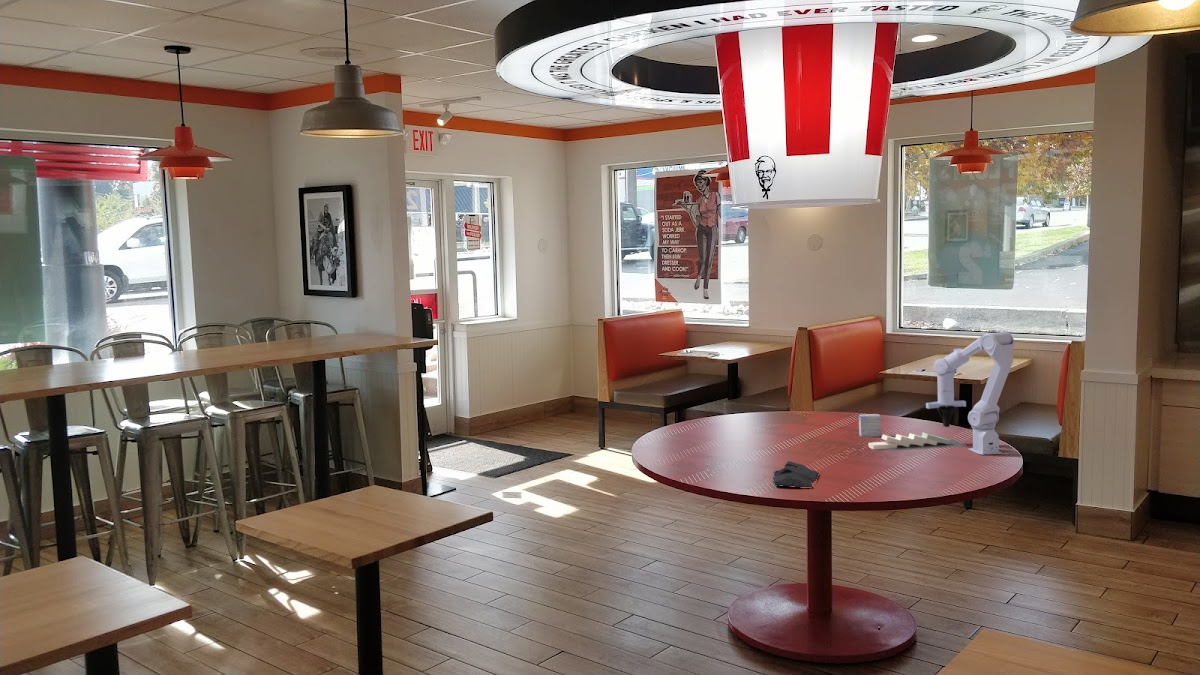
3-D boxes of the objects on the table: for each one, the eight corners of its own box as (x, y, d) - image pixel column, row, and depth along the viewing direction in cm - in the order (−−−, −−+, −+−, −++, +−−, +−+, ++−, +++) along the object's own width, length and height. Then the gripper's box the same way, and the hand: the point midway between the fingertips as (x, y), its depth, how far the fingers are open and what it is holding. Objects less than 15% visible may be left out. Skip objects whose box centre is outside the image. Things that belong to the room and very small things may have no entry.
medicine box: (879, 435, 372) (878, 413, 371) (881, 437, 368) (880, 415, 367) (859, 435, 373) (858, 414, 372) (861, 437, 368) (860, 416, 368)
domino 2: (904, 440, 350) (882, 434, 349) (910, 443, 345) (887, 436, 344) (903, 444, 350) (881, 438, 349) (908, 447, 345) (886, 440, 344)
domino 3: (918, 439, 350) (896, 433, 350) (924, 442, 345) (901, 436, 345) (917, 443, 350) (895, 437, 350) (922, 446, 346) (900, 440, 345)
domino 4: (931, 439, 351) (909, 432, 350) (937, 441, 346) (914, 435, 345) (930, 443, 351) (908, 436, 350) (936, 445, 346) (913, 439, 345)
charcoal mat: (968, 446, 343) (968, 445, 343) (891, 451, 341) (891, 450, 341) (953, 440, 355) (953, 439, 355) (879, 445, 353) (879, 444, 353)
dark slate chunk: (766, 489, 298) (766, 475, 298) (775, 473, 319) (774, 459, 318) (815, 491, 293) (814, 476, 293) (820, 474, 314) (820, 460, 314)
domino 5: (944, 438, 351) (922, 432, 350) (950, 440, 346) (927, 434, 345) (943, 442, 351) (921, 436, 350) (949, 444, 346) (926, 438, 345)
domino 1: (891, 441, 350) (868, 442, 349) (896, 443, 345) (873, 445, 344) (891, 445, 350) (868, 446, 349) (897, 448, 345) (873, 449, 344)
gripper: (959, 387, 351) (960, 423, 352) (922, 390, 350) (923, 425, 352) (968, 390, 344) (968, 426, 345) (930, 392, 343) (930, 429, 345)
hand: (946, 426), depth 348 cm, fingers closed
